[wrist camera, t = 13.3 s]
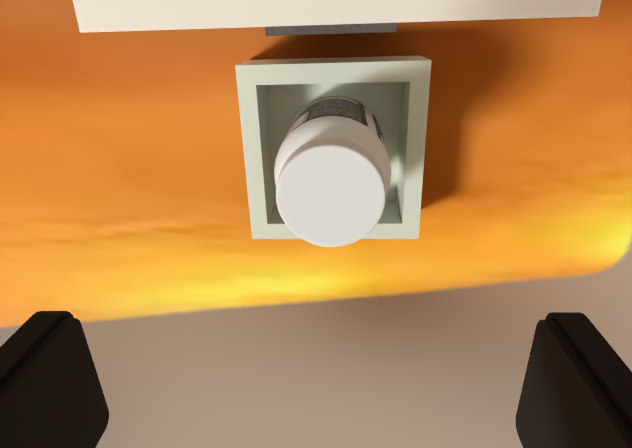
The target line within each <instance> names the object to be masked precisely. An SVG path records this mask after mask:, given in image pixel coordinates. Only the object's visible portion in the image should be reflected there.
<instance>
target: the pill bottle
mask: <svg viewBox="0 0 632 448" xmlns="http://www.w3.org/2000/svg"><path fill="white" fill-rule="evenodd" d="M274 176H275V184H276V203H277V207H278V211H279V213H280V216H281V218H282V219H283V221H284V223H285V224H286V225H287V227H288V228H289V229H290V230H291V231H292V232H293V233H294V234H295V235H297V236H298V237H300V238H301V239H303V240H305V241H307V242H309V243H312V244H315V245H319V246H324V247H338V246H344V245H348V244H351V243H353V242H356V241H358V240H360V239H361V238H363V237H364V236H366V235H367V234H368V233H369V232H370V231H371V230H372V229H373V228H374V227H375V226H376V225H377V223H378V222H379V220H380V218H381V216H382V213H383V210H384V207H385V202H386V195H387V193H388V190H389V186H390V180H391V164H390V159H389V155H388V152H387V149H386V146H385V142H384V138H383V135H382V132H381V129H380V126H379V123H378V121H377V119H376V118H375V116H374V115H373V113H372V112H371V111H370V110H369V109H368V108H367V107H366V106H365V105H364V104H363V103H361V102H360V101H358V100H356V99H354V98H352V97H348V96H344V95H327V96H323V97H320V98H317V99H315V100H313V101H311V102H310V103H308V104H307V105H306V106H304V107H303V108H302V109H301V110H300V112H299V113H298V114H297V116H296V117H295V119H294V121H293V123H292V124H291V126H290V128H289V131H288V133H287V135H286V137H285V139H284V141H283V143H282V145H281V147H280V149H279V151H278V154H277V157H276V161H275V167H274Z"/></svg>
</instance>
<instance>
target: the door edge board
mask: <svg viewBox="0 0 632 448" xmlns="http://www.w3.org/2000/svg"><path fill="white" fill-rule="evenodd" d="M73 4H74V8H75V12H76V17H77V21H78V26H79V30H80V32H112V31H143V30H175V29H207V28H239V27H265V29H266V36H280V35H313V34H346V33H379V32H397V23H398V22H430V21H461V20H493V19H525V18H557V17H589V16H598V14H599V10H600V5H601V0H73Z"/></svg>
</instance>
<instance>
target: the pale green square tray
mask: <svg viewBox="0 0 632 448" xmlns="http://www.w3.org/2000/svg"><path fill="white" fill-rule="evenodd" d="M431 61H432V60H430V59H427V58H425V57H423V56H421V55H412V56H374V57H337V58H299V59H262V60H247V61H245V62H242V63H240V64H238V65H235V69H236V79H237V89H238V100H239V110H240V120H241V130H242V140H243V150H244V161H245V171H246V181H247V191H248V201H249V211H250V222H251V232H252V239H301V238H300V237H298V236H297V235H295V234H294V233H293V232H292V231H291V230H290V229H289V228H288V227H287V225H286V224H285V223H284V221H283V219H282V218H281V216H280V213H279V211H278V207H277V203H276V184H275V176H274V167H275V161H276V157H277V154H278V151H279V149H280V147H281V145H282V143H283V141H284V139H285V137H286V135H287V133H288V131H289V128H290V126H291V124H292V123H293V121H294V119H295V117H296V116H297V114H298V113H299V112H300V110H301V109H302V108H303V107H304V106H306V105H307V104H308V103H310V102H311V101H313V100H315V99H317V98H320V97H323V96H327V95H344V96H348V97H352V98H354V99H356V100H358V101H360V102H361V103H363V104H364V105H365V106H366V107H367V108H368V109H369V110H370V111H371V112H372V113H373V115H374V116H375V118H376V119H377V121H378V123H379V126H380V129H381V132H382V135H383V138H384V142H385V146H386V149H387V152H388V155H389V159H390V164H391V180H390V186H389V190H388V193H387V195H386V202H385V207H384V210H383V213H382V216H381V218H380V220H379V222H378V223H377V225H376V226H375V227H374V228H373V229H372V230H371V231H370V232H369V233H368V234H367V235H366V236H364V237H363V238H361V239H418V238H419V225H420V211H421V197H422V184H423V170H424V157H425V143H426V129H427V116H428V102H429V89H430V75H431Z"/></svg>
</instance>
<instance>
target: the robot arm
mask: <svg viewBox="0 0 632 448" xmlns="http://www.w3.org/2000/svg"><path fill="white" fill-rule="evenodd" d="M108 419H109V411H108V407H107V404H106V401H105V398H104V394H103V391H102V388H101V385H100V382H99V379H98V376H97V372H96V369H95V366H94V363H93V360H92V357H91V354H90V350H89V347H88V344H87V341H86V338H85V335H84V332H83V329H82V325H81V323H80V321H79V320H78V319H76V318H74V317H73V315H72V314H71V313H70V312H67V311H39V312H36V313H35V314H34V315H32V316H31V317H30V318H29V319H28V320H27V321H26V322H25V323H24V324H23V325H22V326H21V327H20V328H19V329H18V330H17V331H16V332H15V333H14V334H13V335H12V336H11V337H10V338H9V339H8V340H7V341H6V342H5V343H4V344H3V345H2V346H1V347H0V448H95V447H96V445H97V444H98V441H99V440H100V438H101V436H102V434H103V433H104V431H105V429H106V427H107V424H108ZM516 429H517V433H518V436H519V438H520V441H521V443H522V445H523V448H632V372H631V371H630V369H629V368H628V367H627V366H626V365H625V363H624V362H623V361H622V359H621V358H620V357H619V356H618V355H617V353H616V352H615V351H614V350H613V349H612V347H611V346H610V345H609V344H608V342H607V341H606V340H605V339H604V337H603V336H602V335H601V334H600V332H599V331H598V330H597V329H596V328H595V326H594V325H593V324H592V323H591V322H590V320H589V319H588V318H587V317H586V316H585V315H584V314H582V313H549V314H548V315H547V316H546V319H545V320H540V321H539V322H538V323H537V326H536V330H535V335H534V339H533V343H532V348H531V352H530V357H529V361H528V365H527V370H526V374H525V379H524V383H523V387H522V392H521V396H520V401H519V405H518V410H517V414H516Z"/></svg>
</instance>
